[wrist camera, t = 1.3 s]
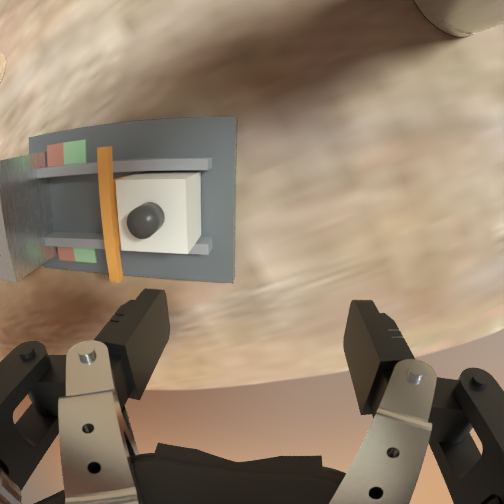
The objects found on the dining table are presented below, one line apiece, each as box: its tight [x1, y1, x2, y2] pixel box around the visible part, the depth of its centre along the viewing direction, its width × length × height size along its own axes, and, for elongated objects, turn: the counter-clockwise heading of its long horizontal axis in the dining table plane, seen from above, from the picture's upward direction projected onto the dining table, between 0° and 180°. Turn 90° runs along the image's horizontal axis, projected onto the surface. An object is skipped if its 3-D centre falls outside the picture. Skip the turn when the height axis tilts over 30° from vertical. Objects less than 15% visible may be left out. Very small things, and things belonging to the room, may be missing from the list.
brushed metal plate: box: [0, 152, 58, 283], centre depth 26 cm, size 12×3×8 cm, turn 178°
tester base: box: [29, 116, 237, 283], centre depth 29 cm, size 16×24×4 cm, turn 88°
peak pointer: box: [97, 146, 130, 283], centre depth 26 cm, size 12×1×5 cm, turn 178°
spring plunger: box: [115, 171, 201, 254], centre depth 25 cm, size 6×6×7 cm
